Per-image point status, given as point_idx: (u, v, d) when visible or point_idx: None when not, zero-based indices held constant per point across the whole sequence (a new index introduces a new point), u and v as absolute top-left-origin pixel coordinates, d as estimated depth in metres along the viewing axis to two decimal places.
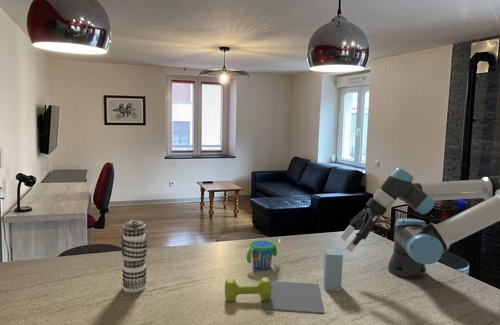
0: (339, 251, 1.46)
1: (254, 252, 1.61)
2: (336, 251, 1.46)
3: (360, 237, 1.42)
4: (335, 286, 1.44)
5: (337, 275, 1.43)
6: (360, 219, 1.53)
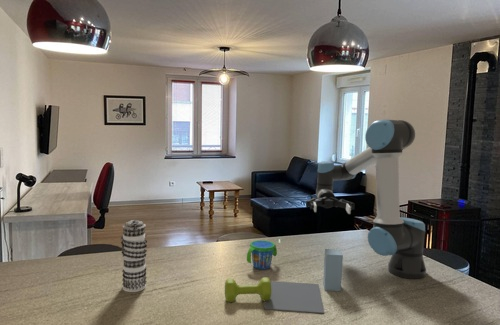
0: (339, 251, 1.46)
1: (254, 252, 1.61)
2: (336, 251, 1.46)
3: (309, 204, 1.62)
4: (335, 286, 1.44)
5: (337, 275, 1.43)
6: (337, 204, 1.65)
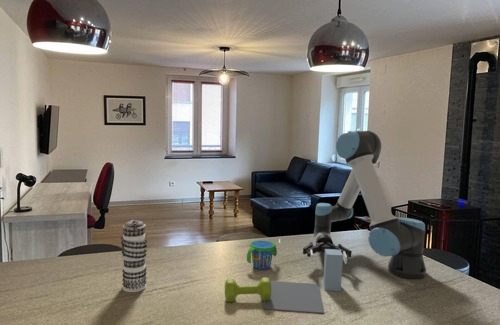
0: (339, 251, 1.46)
1: (254, 252, 1.61)
2: (336, 251, 1.46)
3: (306, 252, 1.62)
4: (335, 286, 1.44)
5: (337, 275, 1.43)
6: None
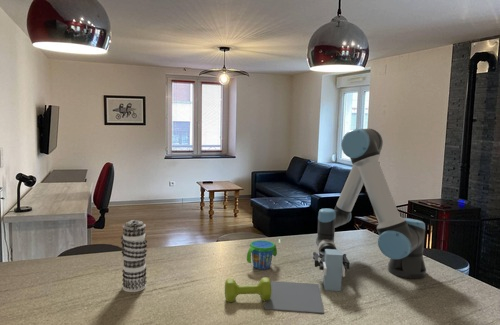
0: (339, 251, 1.46)
1: (254, 252, 1.61)
2: (336, 251, 1.46)
3: (318, 264, 1.48)
4: (335, 286, 1.44)
5: (337, 275, 1.43)
6: None
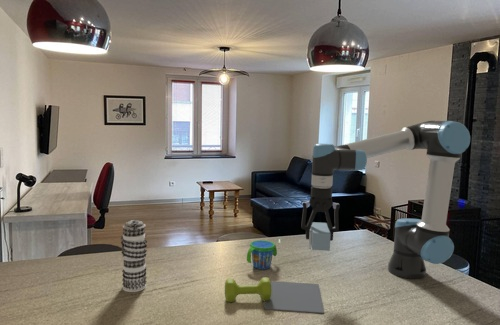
0: None
1: (254, 252, 1.61)
2: None
3: (334, 230, 1.39)
4: None
5: None
6: (314, 215, 1.39)
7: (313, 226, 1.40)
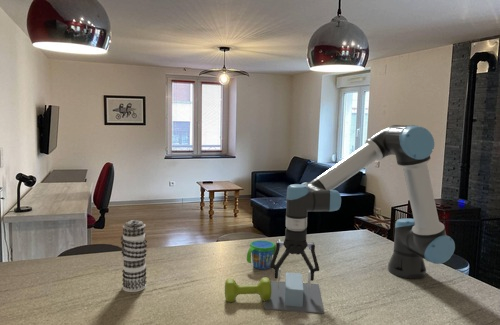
0: None
1: (254, 252, 1.61)
2: None
3: (315, 270, 1.37)
4: None
5: None
6: None
7: (287, 278, 1.38)
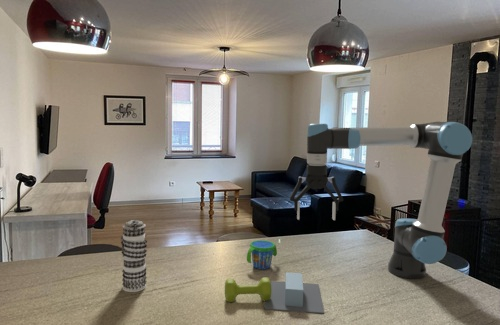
0: None
1: (254, 252, 1.61)
2: None
3: (339, 201, 1.46)
4: None
5: None
6: None
7: (287, 278, 1.38)
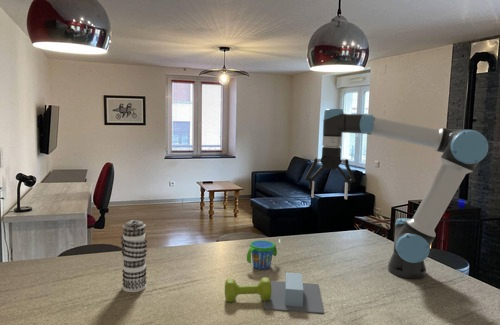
0: None
1: (254, 252, 1.61)
2: None
3: (351, 182, 1.57)
4: None
5: None
6: (321, 171, 1.57)
7: (287, 278, 1.38)
